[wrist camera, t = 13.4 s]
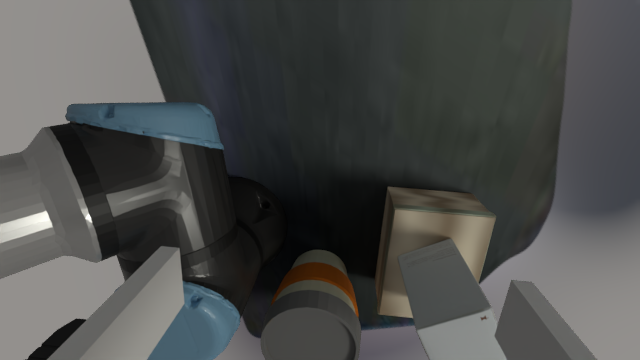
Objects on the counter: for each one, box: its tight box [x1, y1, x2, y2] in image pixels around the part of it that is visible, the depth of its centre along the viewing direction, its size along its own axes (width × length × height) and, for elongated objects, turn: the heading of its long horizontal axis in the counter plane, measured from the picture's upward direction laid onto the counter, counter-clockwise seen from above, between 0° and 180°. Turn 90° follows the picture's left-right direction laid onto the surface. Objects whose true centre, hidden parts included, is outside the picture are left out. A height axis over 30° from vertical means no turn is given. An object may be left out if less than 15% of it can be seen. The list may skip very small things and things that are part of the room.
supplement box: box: [398, 238, 507, 360], centre depth 37 cm, size 7×7×13 cm
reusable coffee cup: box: [261, 250, 361, 360], centre depth 47 cm, size 12×13×15 cm
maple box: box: [375, 187, 496, 318], centre depth 47 cm, size 12×16×8 cm
